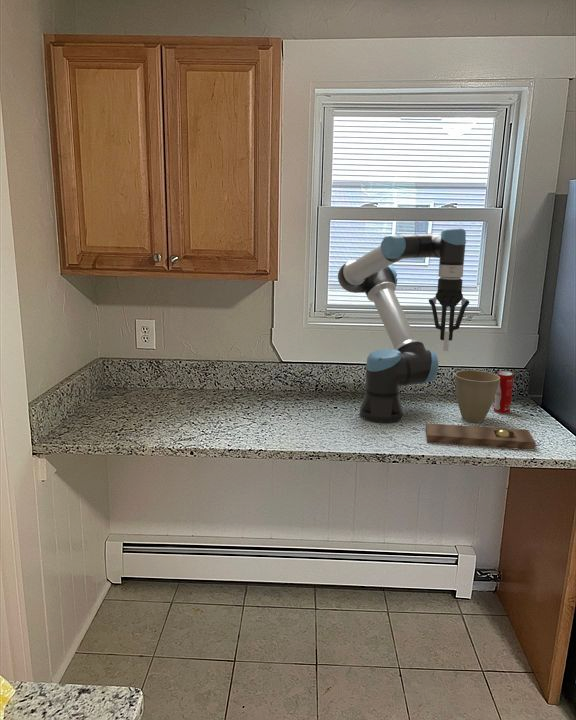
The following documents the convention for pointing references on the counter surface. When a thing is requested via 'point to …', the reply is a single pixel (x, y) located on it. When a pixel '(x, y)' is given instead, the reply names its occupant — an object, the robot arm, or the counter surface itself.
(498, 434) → the brass ball
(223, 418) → the counter surface
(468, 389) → the plant pot
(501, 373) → the beverage can
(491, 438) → the board
